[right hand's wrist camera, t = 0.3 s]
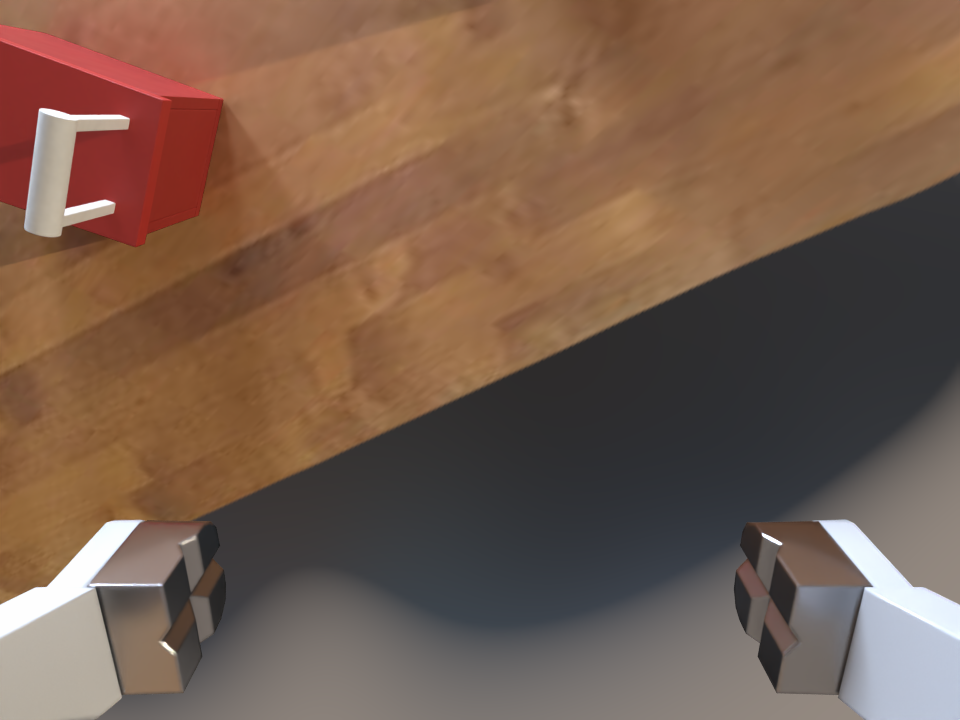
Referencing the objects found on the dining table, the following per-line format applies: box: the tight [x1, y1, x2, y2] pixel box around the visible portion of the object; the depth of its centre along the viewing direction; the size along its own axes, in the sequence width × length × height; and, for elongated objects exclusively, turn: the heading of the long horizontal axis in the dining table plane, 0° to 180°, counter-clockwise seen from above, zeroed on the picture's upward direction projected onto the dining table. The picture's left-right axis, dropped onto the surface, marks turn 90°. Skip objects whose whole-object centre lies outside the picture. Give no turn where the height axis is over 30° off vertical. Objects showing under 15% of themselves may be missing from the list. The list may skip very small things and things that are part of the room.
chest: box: [0, 25, 223, 234], centre depth 48 cm, size 14×10×11 cm
